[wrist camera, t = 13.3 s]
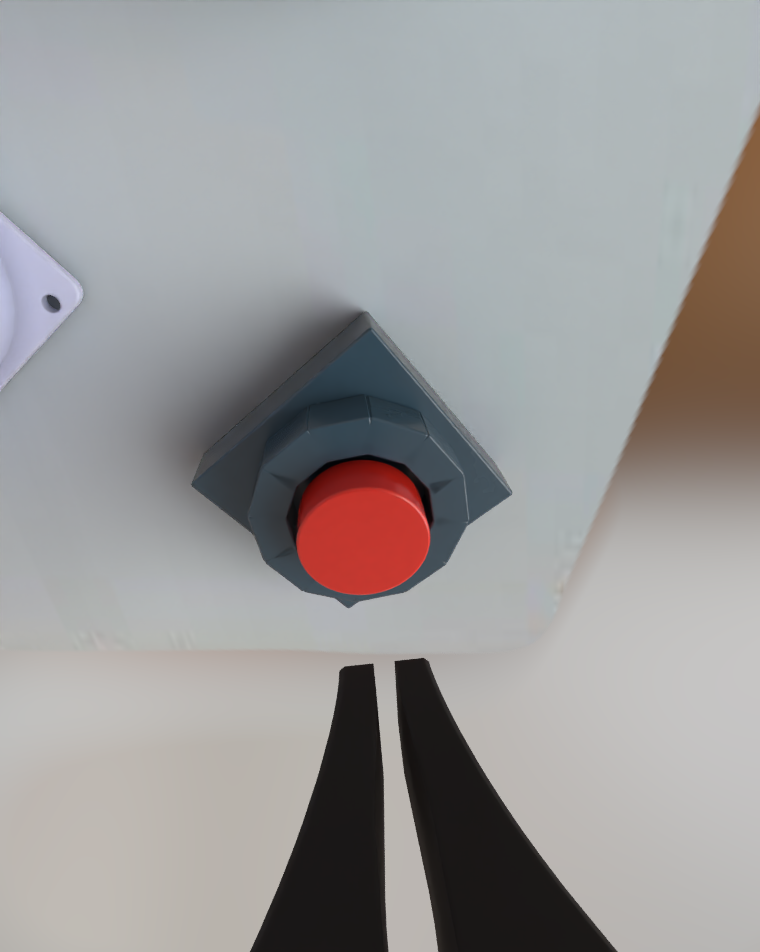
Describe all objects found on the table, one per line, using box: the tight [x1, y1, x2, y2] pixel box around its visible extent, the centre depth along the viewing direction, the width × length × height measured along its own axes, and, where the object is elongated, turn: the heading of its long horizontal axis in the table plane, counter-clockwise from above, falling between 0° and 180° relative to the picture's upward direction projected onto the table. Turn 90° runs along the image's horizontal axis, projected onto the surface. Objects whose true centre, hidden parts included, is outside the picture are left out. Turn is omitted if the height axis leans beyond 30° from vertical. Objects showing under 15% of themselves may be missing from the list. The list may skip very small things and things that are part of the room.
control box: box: [191, 312, 512, 608], centre depth 18 cm, size 8×8×4 cm
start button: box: [296, 460, 430, 595], centre depth 16 cm, size 4×4×2 cm
